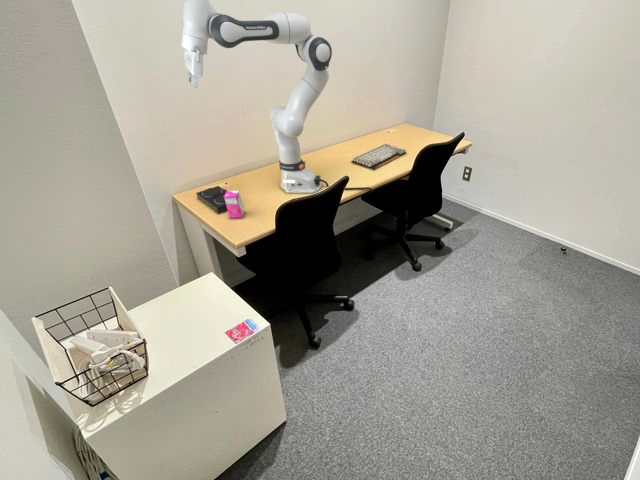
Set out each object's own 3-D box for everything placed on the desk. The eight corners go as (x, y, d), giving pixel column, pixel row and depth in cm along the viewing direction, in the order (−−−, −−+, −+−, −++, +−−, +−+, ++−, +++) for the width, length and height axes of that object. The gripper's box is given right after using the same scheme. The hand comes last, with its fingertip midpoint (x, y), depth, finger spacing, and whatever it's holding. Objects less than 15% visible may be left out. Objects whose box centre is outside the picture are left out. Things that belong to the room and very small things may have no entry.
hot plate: (243, 204, 162) (241, 198, 160) (218, 214, 155) (216, 207, 153) (221, 190, 174) (219, 183, 172) (197, 198, 167) (195, 191, 164)
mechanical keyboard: (374, 170, 197) (374, 164, 195) (349, 162, 207) (349, 157, 205) (407, 153, 220) (407, 148, 218) (384, 147, 230) (384, 142, 228)
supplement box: (232, 212, 156) (226, 190, 149) (244, 212, 156) (239, 190, 149) (229, 218, 152) (223, 196, 144) (242, 218, 152) (236, 196, 145)
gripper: (208, 51, 121) (205, 92, 127) (199, 45, 134) (197, 82, 141) (189, 45, 117) (187, 87, 124) (182, 40, 131) (180, 78, 137)
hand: (192, 84), depth 132 cm, fingers open, 8 cm apart
